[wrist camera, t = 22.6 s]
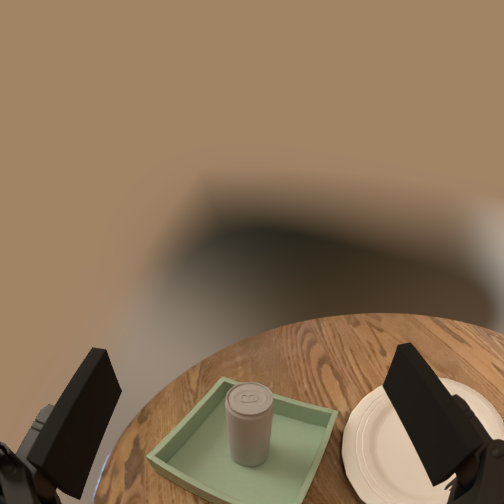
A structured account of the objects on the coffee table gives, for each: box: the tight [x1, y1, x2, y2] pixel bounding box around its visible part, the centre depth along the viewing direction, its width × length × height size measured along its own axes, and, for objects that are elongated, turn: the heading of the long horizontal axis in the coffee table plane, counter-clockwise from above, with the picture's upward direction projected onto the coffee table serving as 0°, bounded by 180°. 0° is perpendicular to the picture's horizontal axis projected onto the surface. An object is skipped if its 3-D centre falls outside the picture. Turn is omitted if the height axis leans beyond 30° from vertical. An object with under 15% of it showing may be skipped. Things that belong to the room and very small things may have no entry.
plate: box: [341, 377, 504, 504], centre depth 24 cm, size 29×29×2 cm
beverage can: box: [225, 382, 274, 466], centre depth 26 cm, size 5×5×12 cm
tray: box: [146, 376, 338, 504], centre depth 27 cm, size 18×18×4 cm
